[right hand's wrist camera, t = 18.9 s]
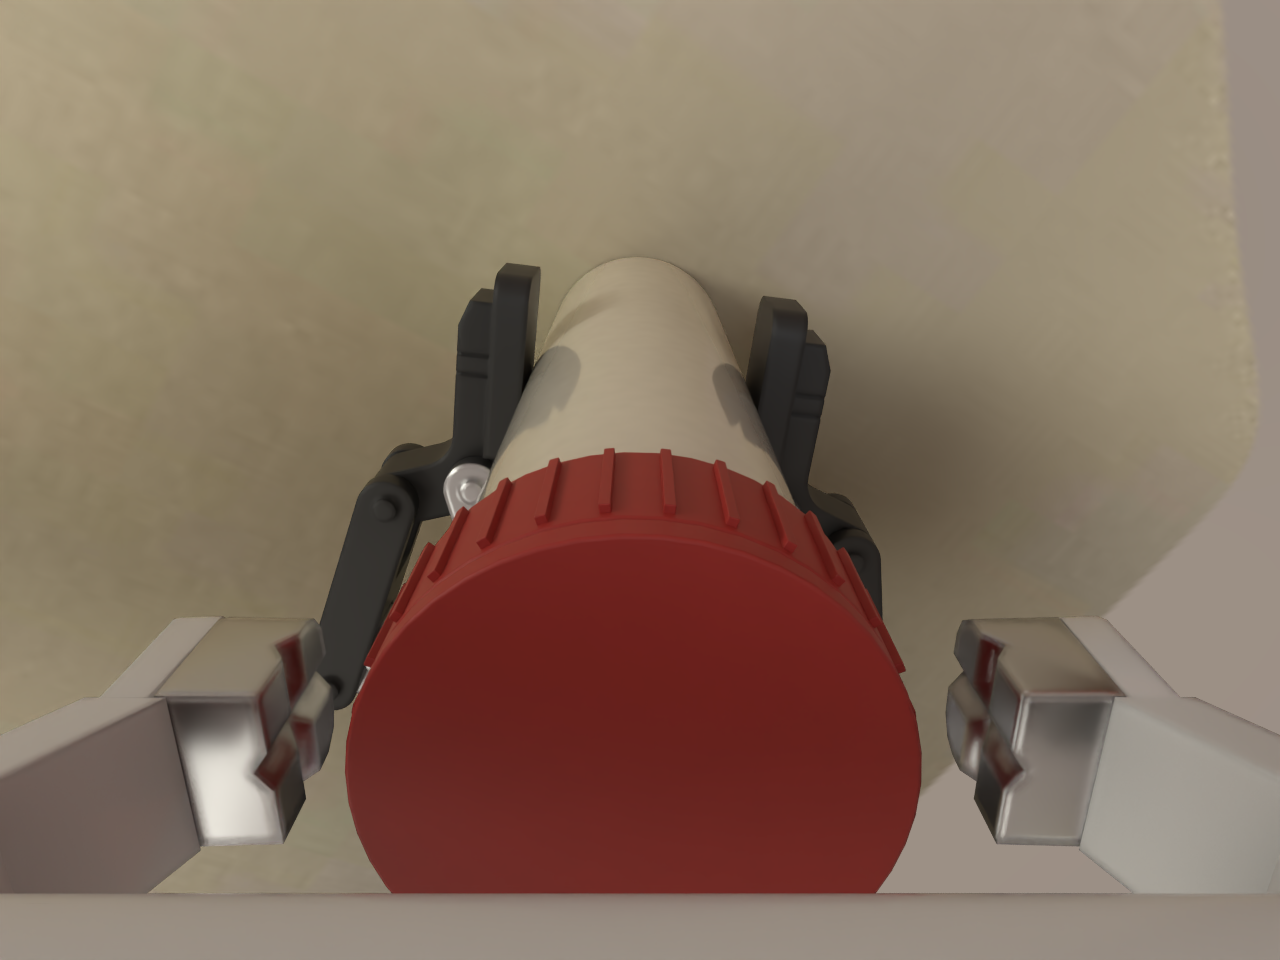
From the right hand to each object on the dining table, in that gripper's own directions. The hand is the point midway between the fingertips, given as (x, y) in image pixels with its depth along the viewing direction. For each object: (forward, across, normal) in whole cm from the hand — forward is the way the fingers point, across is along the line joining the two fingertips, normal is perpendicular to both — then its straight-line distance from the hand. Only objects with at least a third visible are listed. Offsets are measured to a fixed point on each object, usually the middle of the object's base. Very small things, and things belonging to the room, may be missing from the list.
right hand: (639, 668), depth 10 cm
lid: (-2, 0, 0) cm, 2 cm away
